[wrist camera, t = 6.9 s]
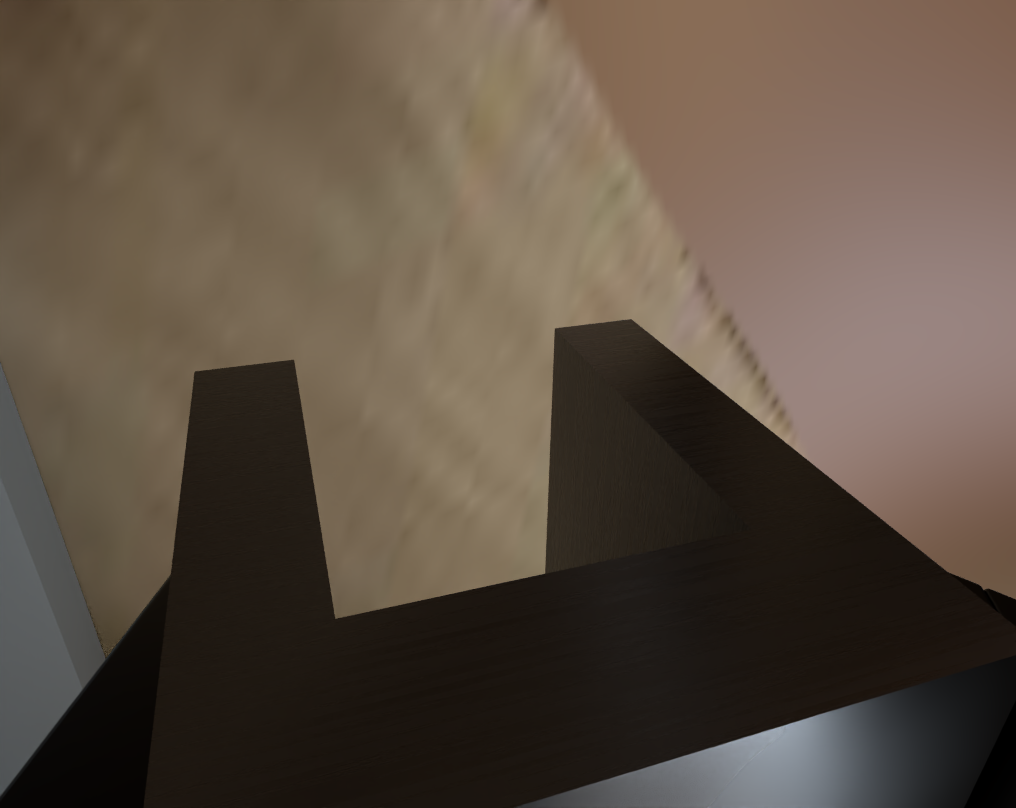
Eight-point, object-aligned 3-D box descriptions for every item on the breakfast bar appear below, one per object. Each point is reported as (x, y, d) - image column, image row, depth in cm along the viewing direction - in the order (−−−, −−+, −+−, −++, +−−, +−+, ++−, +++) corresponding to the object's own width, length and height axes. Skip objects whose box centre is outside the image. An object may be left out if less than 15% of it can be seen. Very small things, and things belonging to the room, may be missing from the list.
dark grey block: (630, 319, 9) (1040, 647, 4) (608, 572, 11) (878, 986, 6) (193, 371, 8) (128, 924, 3) (254, 650, 10) (270, 1251, 5)
